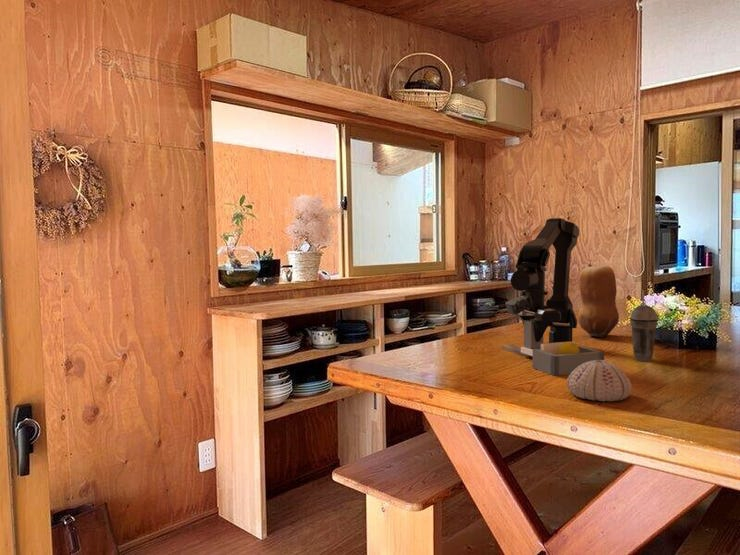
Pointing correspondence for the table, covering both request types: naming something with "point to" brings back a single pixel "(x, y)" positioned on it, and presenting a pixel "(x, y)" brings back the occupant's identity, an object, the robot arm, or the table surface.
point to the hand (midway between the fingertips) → (533, 340)
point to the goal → (564, 360)
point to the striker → (531, 342)
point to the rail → (515, 350)
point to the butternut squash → (598, 300)
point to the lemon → (567, 348)
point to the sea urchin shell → (599, 381)
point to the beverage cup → (643, 331)
